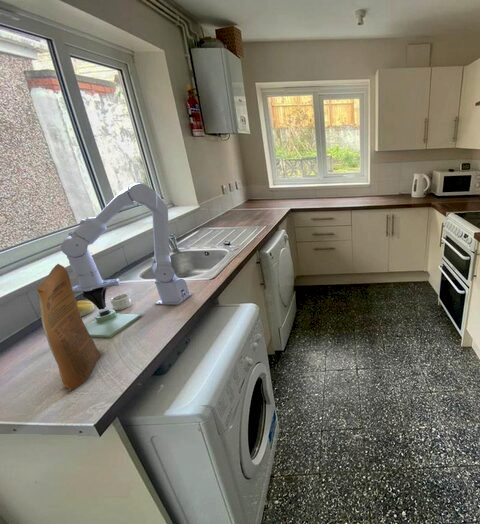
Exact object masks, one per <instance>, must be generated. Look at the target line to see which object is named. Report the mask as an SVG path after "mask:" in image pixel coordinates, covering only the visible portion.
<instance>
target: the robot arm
mask: <svg viewBox="0 0 480 524" xmlns="http://www.w3.org/2000/svg"><path fill="white" fill-rule="evenodd" d="M135 202H136V203H138V204H139V205H142V206H145V207H146V208H148V210H150V211H151V215H152V233H153V234H152V235H153V253H154V254H153V262H152V264H151V267H150V269H151V271H152V272H153V277H154V280H153V281H154V284H155V287H156V290H157V294H158V296H159V300H158V301H156V302H155V305H176V306H177V305H180V304H181V303H182V302H184V301H185V300H186V299H188V298H189V297H190V296H192V293H190V291H189V288H188V284H187V282H186V280H185V279H184V278H180V277H178V276H177V274H176V273H175V270H174V268H173V267H172V260H171V254H170V253H171V252H170V229H169V226H170V225H169V207H168V205H167V204H166V202H165V201H164V200H163V199H162V197H161V196H160V195H159V194H158V193H157V191H156V190H155V189H153V188H152V187H150V185H147V184H146V183H144V182H141V181H135V182H132V183H130V184H129V185H128V187H126V188H124V189H123V190H121V191H120V192H119V193H118V194H116V195H115V196H114V197H113V198H112V199H111V200H110V201H109V202H108V203H107V204H106V206H104V208H103V209H102V210H100V212H99V213H98V214H97V215H96V216H92V217H91V216H90V217H86V219H83V218H82V219H81V220H80V221H79V223H80V224H79V226H77V227H76V228H75V229H74V230H73V231H69V232H68V233H67V234H68V236H67V237H65V238H64V239H63V240H62V243H61V244H60V249H61V252H62V253H63V254H64V255H65V256H66V259H67V260H68V263H69V267H70V268H71V270H72V272H73V274H74V276H75V278H76V281H77V282H78V284H77V285H74V286H71V287H72V291H73V293H74V294H79V293H83V294H82V297H83V298H85V299H86V300H87V301H89V302H92V303H93V304H94V306H95V307H97V309H98V310H99V311H101V310H103V309H106V307H107V304H106V294H107V289H108V288H110V287H111V288H112V287H119V286H120V285H121V284H122V281H121V279H120V278H113V279H112V278H111V279H103V278H102V276H101V274H100V272H99V269H98V267H97V264H96V262H95V260H94V258H93V256H92V254H91V253H90V251H89V249H88V248H89V246H90V245H93V244H94V243H95V242H96V241H97V240H98V239H99V238H100V237H101V236H102V235H103V234H104V233H105V232H106V231H107V230H108V227H107V223H108V222H109V221H110V220H112V219H113V218H114V217H115V216H116V215H117V214H118V213H119V212H120V211H122V209H123V208H125V207H129V206H134V205H135Z"/></svg>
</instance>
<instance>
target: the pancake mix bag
mask: <svg viewBox="0 0 480 524" xmlns="http://www.w3.org/2000/svg"><path fill="white" fill-rule="evenodd" d="M72 287H73V286H72V283H71V278H70V275H69V273H68V270H67V269H66V268H65V266H63V265H61V263H57V264H55V266H54V267H53V268H52V269H51V271H50V272H49V274H48V275H47V276H46V278H45V279H44V280H43V281H42V283H40V284H39V285H38V286H37V287H36V288H35V289H36V291H37V292H38V293H36V296H37V298H38V302H39V308H40V319H41V325H42V329H43V332H44V335H45V338H46V341H47V345H48V347H49V349H50V351H51V353H52V356H53V358H54V360H55V363H56V364H57V367H58V372H59V375H60V379H61V381H62V385H63V387H64V389H68V391H69V392H72V391H73V390H75V389H77V388H78V387H81V386H82V385H83V384H84V383H86V382H87V380H89V379H90V377H91V374H92V372H93V371H94V369H95V367H96V365H97V363H98V361H99V359H100V358H101V355H102V354H101V353H100V351H99V349H98V347H97V345H96V343H95V342H94V340H93V337H91V336H90V334H89V332H88V331H87V329H86V327H85V325H86V324H85V323H84V321H83V319H82V317H81V315H80V312H79V310H78V307H77V301H78V300H77V299H76V296H75V293H73V291H72Z"/></svg>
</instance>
